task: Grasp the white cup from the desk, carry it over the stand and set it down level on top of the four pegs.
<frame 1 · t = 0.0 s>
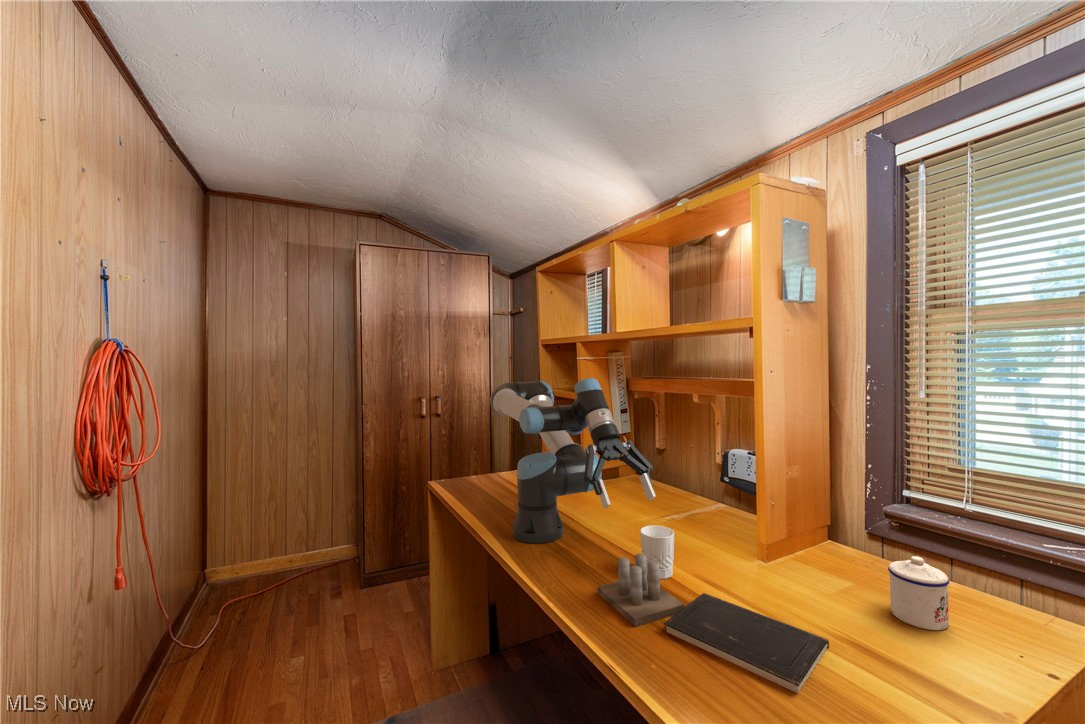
hand: (630, 502, 114), 15 cm above the table, tool tilted 35°, fingers open, 13 cm apart
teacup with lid: (919, 615, 88), on the table
hardcover book: (743, 643, 82), on the table
white cup: (658, 573, 108), on the table
peg stand: (639, 602, 95), on the table
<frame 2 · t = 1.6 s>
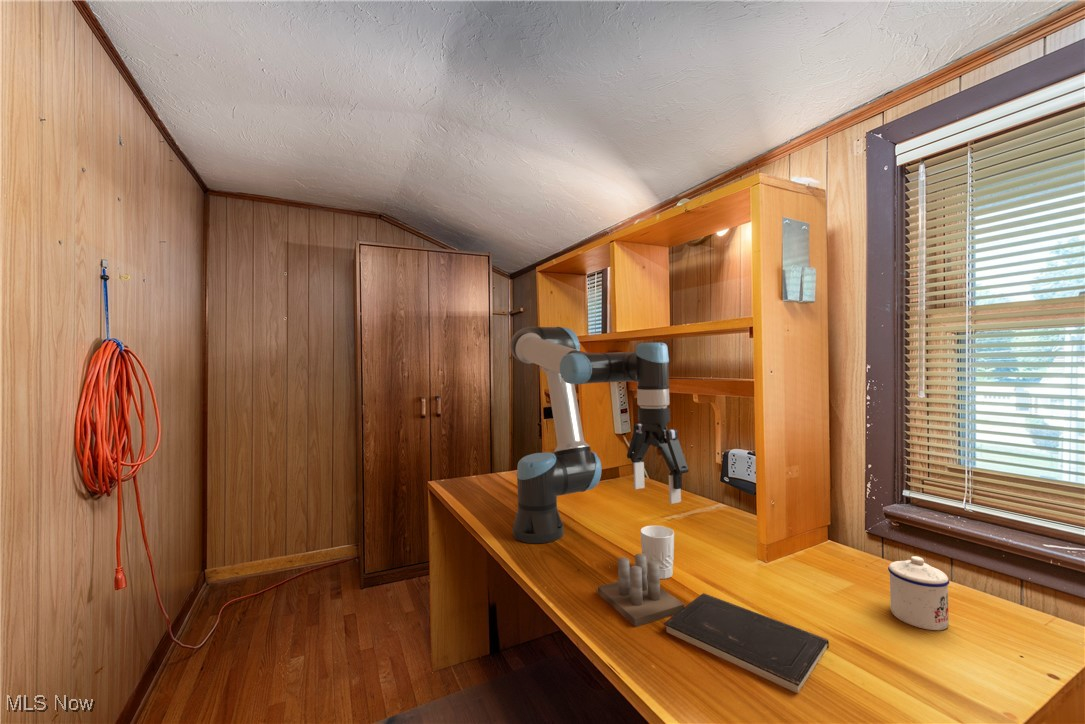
hand: (656, 495, 108), 19 cm above the table, tool pointing down, fingers open, 13 cm apart
nothing on the table moved.
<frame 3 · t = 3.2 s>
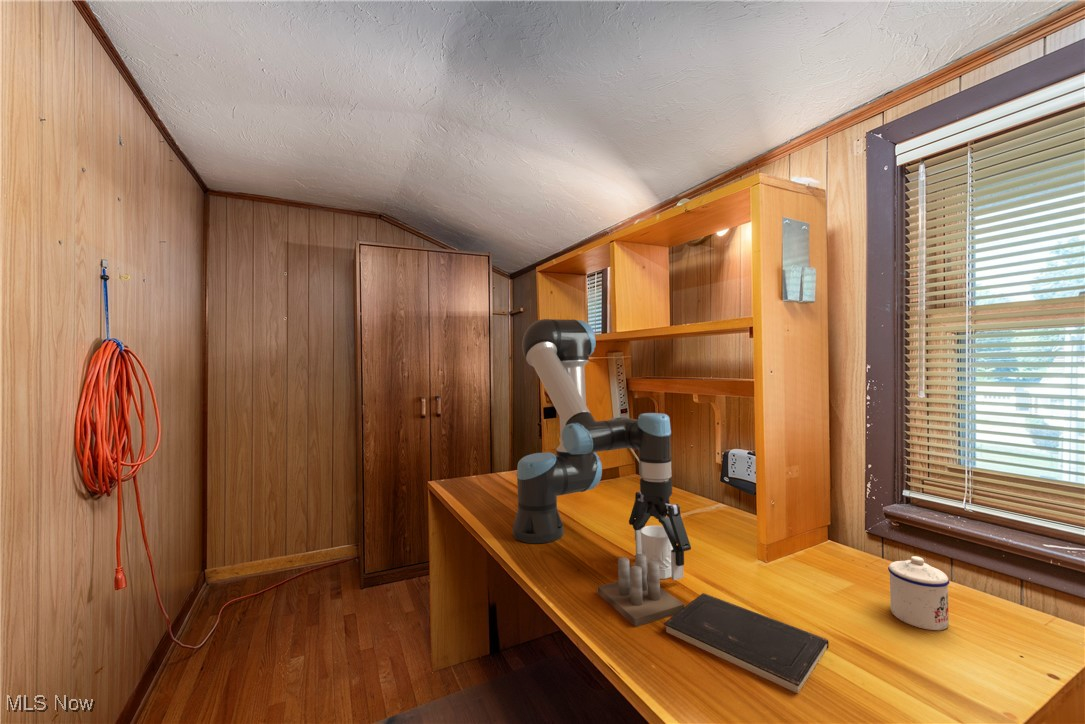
hand: (658, 566, 108), 1 cm above the table, tool pointing down, fingers open, 13 cm apart
nothing on the table moved.
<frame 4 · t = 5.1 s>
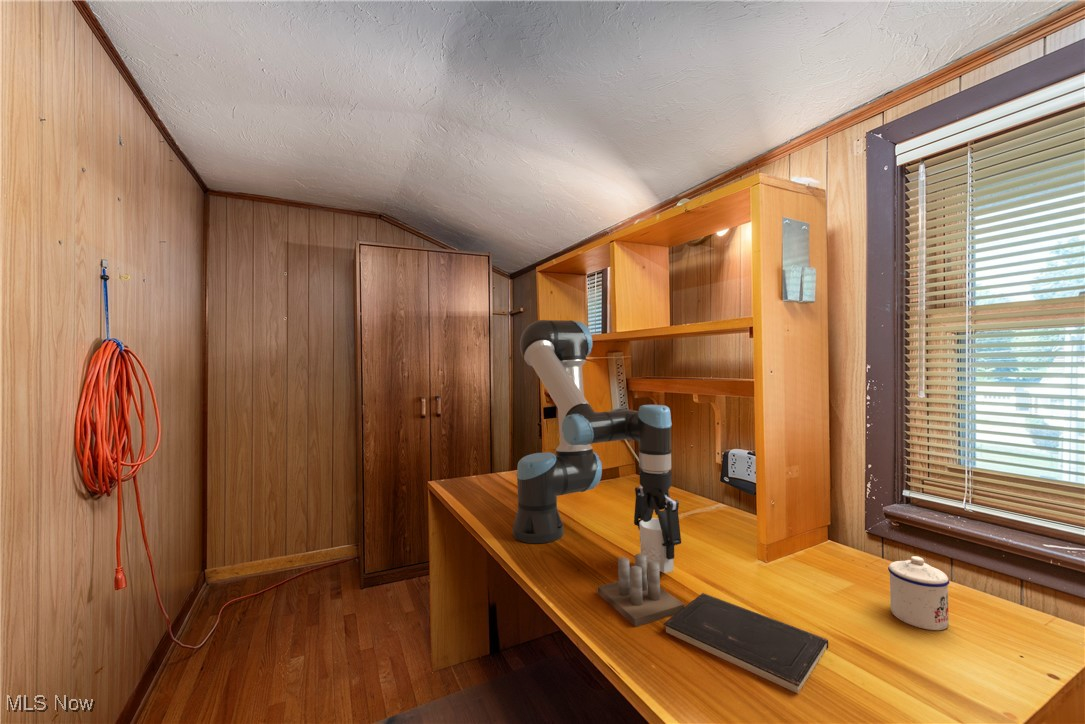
hand: (656, 563, 109), 2 cm above the table, tool pointing down, fingers closed on white cup, 7 cm apart
white cup: (656, 565, 109), point 1 cm above the table, touching gripper
everything else where it was.
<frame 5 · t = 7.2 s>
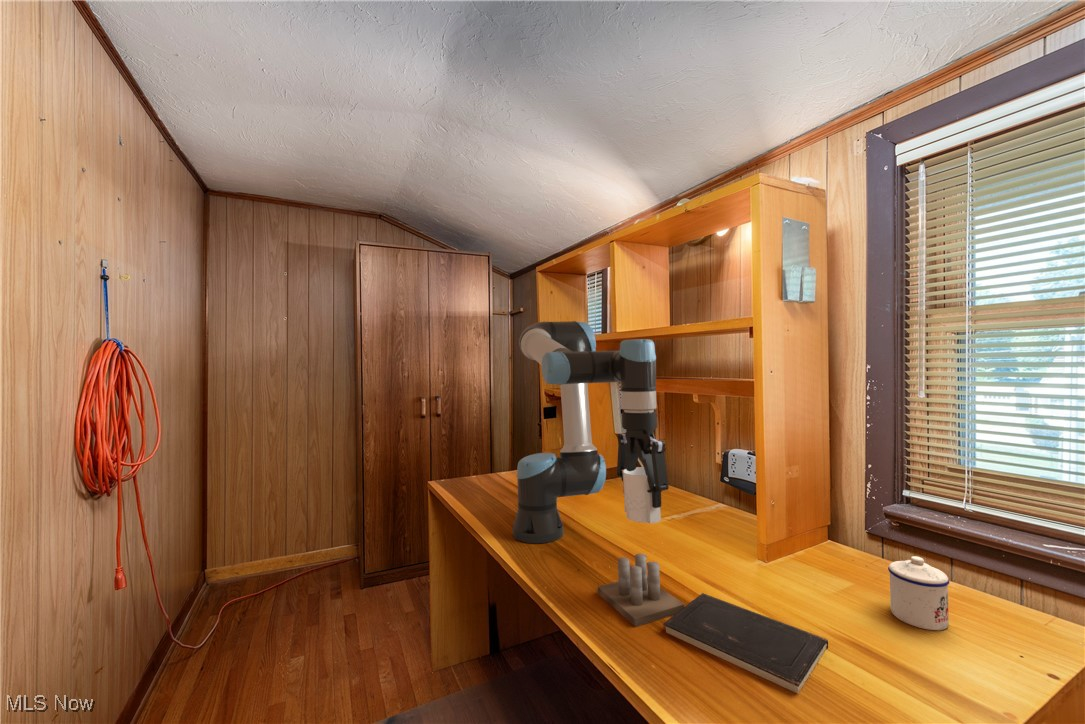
hand: (642, 516, 97), 17 cm above the table, tool pointing down, fingers closed on white cup, 7 cm apart
white cup: (642, 518, 97), point 17 cm above the table, touching gripper
everything else where it was.
when the fingers open (10 cm above the table, at t = 9.3 s): white cup moves 1 cm, resting on peg stand.
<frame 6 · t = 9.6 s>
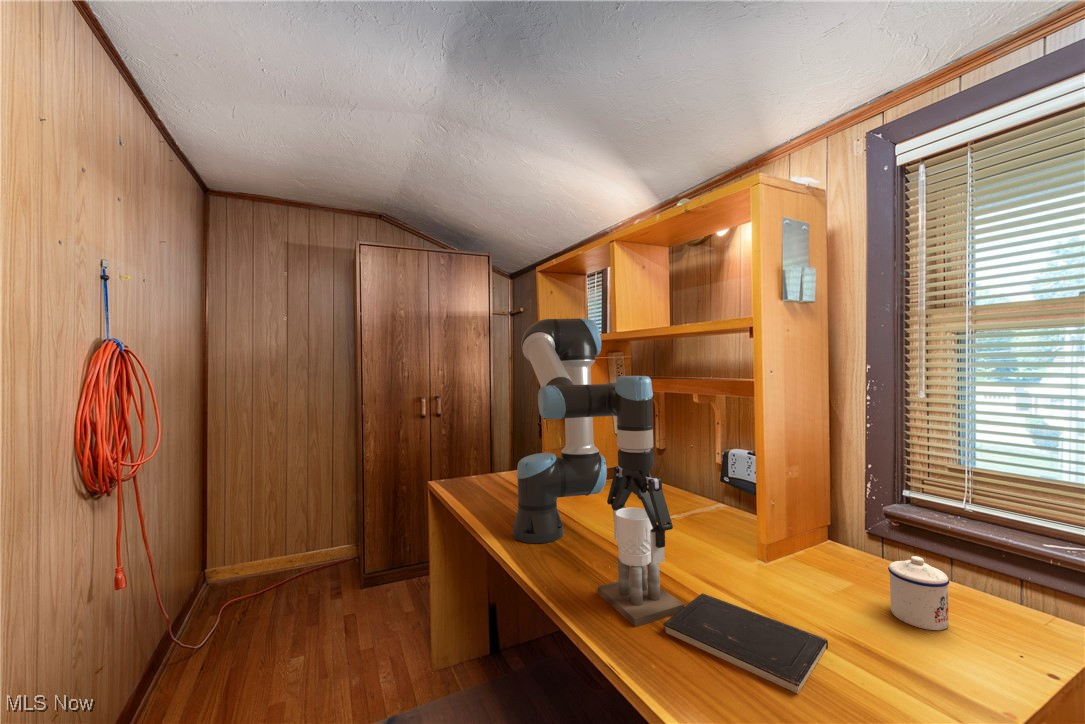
hand: (638, 550, 95), 11 cm above the table, tool pointing down, fingers open, 12 cm apart
white cup: (635, 560, 96), point 8 cm above the table, touching peg stand
everything else where it was.
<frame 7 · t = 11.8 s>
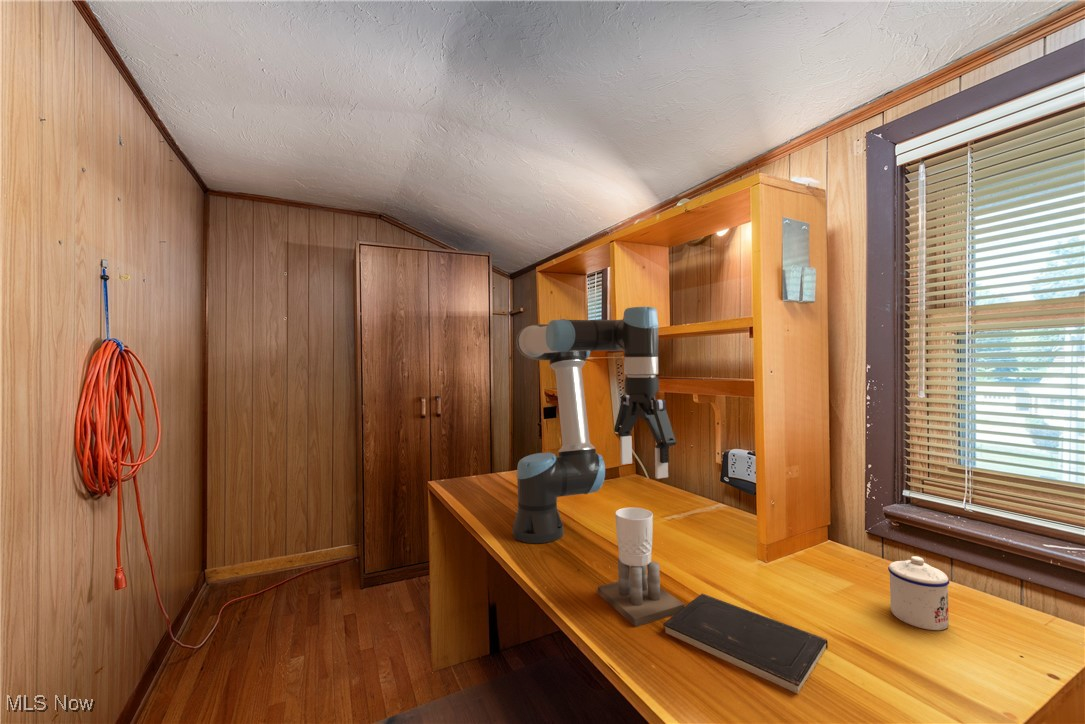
hand: (643, 470, 102), 26 cm above the table, tool pointing down, fingers open, 13 cm apart
nothing on the table moved.
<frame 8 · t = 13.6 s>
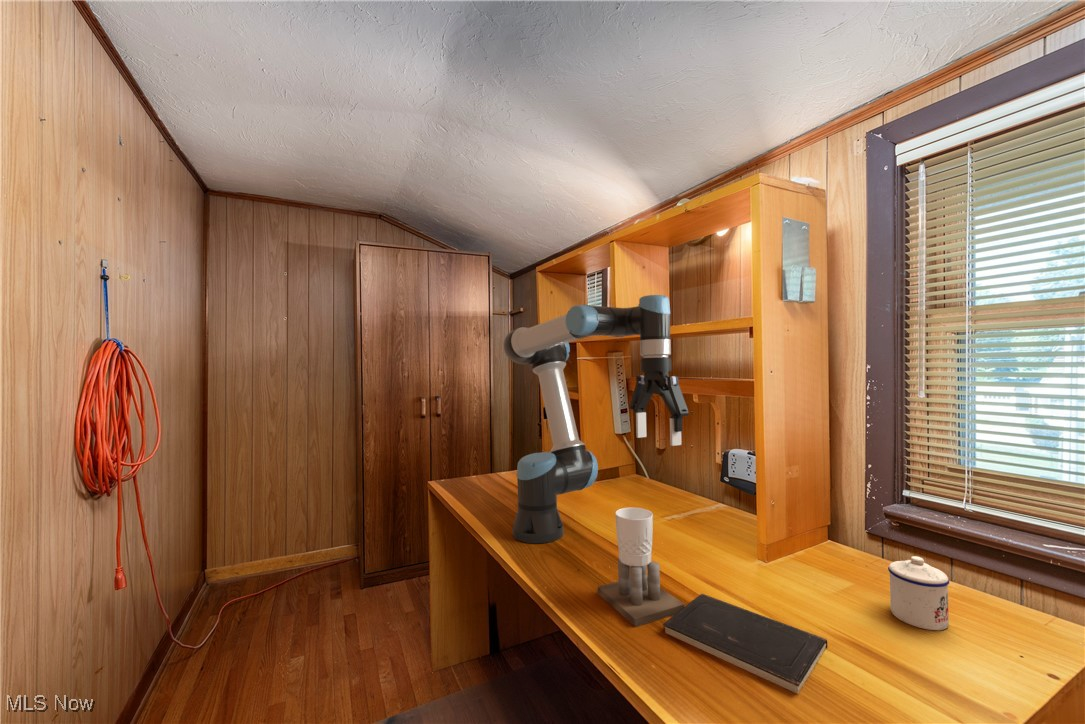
hand: (657, 441, 114), 31 cm above the table, tool pointing down, fingers open, 13 cm apart
nothing on the table moved.
at the end: white cup 1.1 cm off-centre on the peg stand, point 8.3 cm above the peg stand's base; white cup tilted 0°; the gripper is holding nothing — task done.
